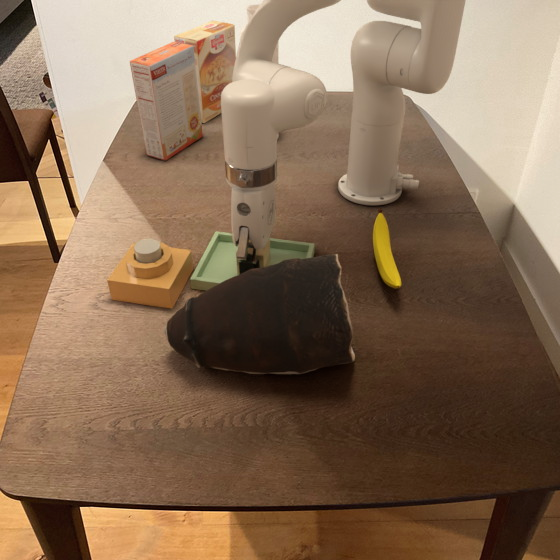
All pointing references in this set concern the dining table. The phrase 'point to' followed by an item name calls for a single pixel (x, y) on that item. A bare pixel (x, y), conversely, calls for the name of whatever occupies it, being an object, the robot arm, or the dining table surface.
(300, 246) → the tray
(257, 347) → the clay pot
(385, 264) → the banana
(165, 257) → the button base
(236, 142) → the robot arm
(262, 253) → the block
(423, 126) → the dining table surface
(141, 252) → the grey button cap
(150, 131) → the cracker box
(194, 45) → the coffeecake box
